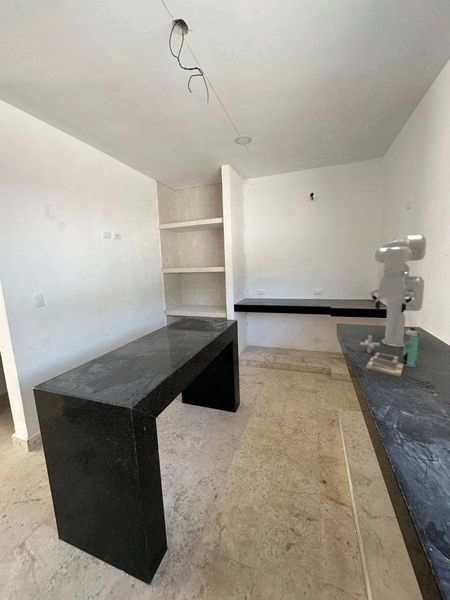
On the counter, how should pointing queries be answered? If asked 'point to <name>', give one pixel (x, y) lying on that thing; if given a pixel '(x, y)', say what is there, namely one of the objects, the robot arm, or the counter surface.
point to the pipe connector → (369, 344)
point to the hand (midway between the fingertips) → (389, 310)
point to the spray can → (410, 347)
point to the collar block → (385, 364)
